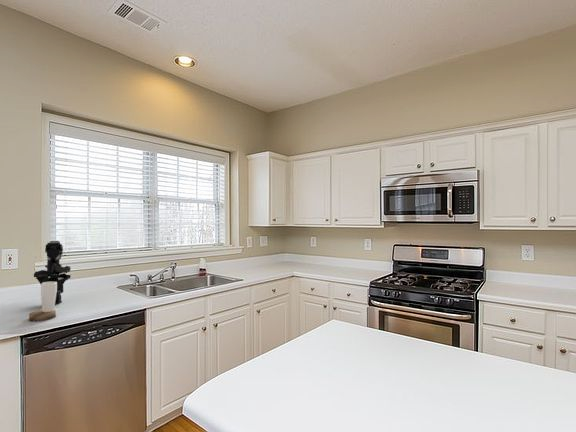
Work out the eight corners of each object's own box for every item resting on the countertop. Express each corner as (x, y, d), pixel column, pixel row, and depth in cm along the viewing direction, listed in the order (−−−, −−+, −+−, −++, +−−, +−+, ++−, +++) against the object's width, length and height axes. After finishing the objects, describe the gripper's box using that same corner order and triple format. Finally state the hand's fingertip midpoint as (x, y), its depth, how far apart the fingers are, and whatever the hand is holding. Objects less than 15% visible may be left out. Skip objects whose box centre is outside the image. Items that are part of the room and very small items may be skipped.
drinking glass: (50, 308, 175) (51, 280, 175) (59, 310, 172) (60, 282, 172) (36, 312, 168) (38, 283, 168) (45, 313, 166) (47, 284, 166)
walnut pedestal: (23, 321, 163) (23, 315, 163) (37, 315, 173) (37, 309, 174) (47, 321, 164) (47, 315, 164) (60, 314, 175) (60, 309, 175)
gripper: (51, 257, 177) (50, 285, 172) (78, 262, 195) (78, 288, 190) (33, 262, 179) (32, 290, 173) (62, 266, 196) (61, 292, 191)
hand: (52, 290), depth 182 cm, fingers open, 9 cm apart
